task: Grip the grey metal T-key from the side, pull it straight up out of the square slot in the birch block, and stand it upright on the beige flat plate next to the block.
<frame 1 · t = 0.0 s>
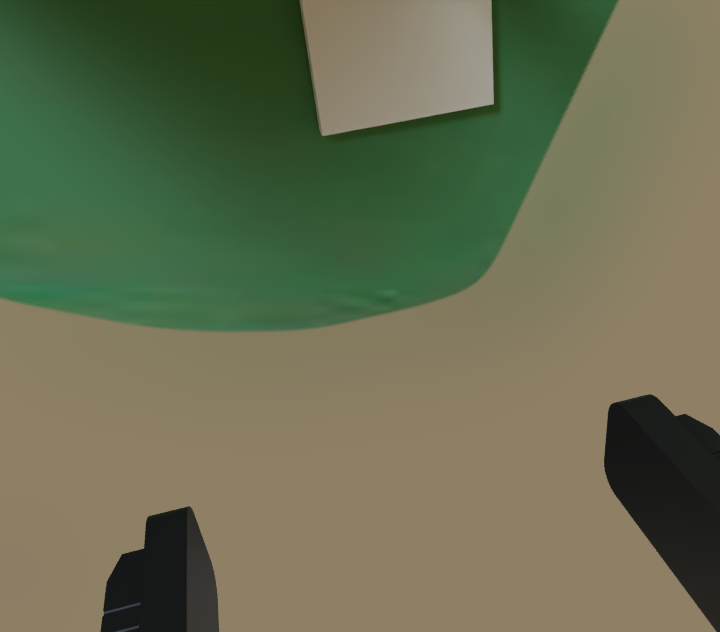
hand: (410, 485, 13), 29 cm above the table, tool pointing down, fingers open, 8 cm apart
beige flat plate: (399, 51, 38), on the table
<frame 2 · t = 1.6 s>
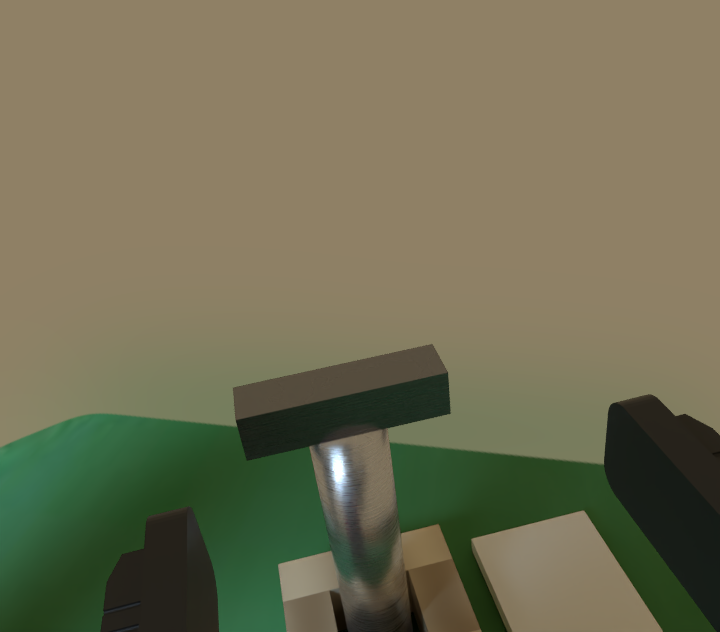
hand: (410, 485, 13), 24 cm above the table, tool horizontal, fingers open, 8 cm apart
t key: (365, 539, 31), in the slot block
beige flat plate: (566, 607, 37), on the table
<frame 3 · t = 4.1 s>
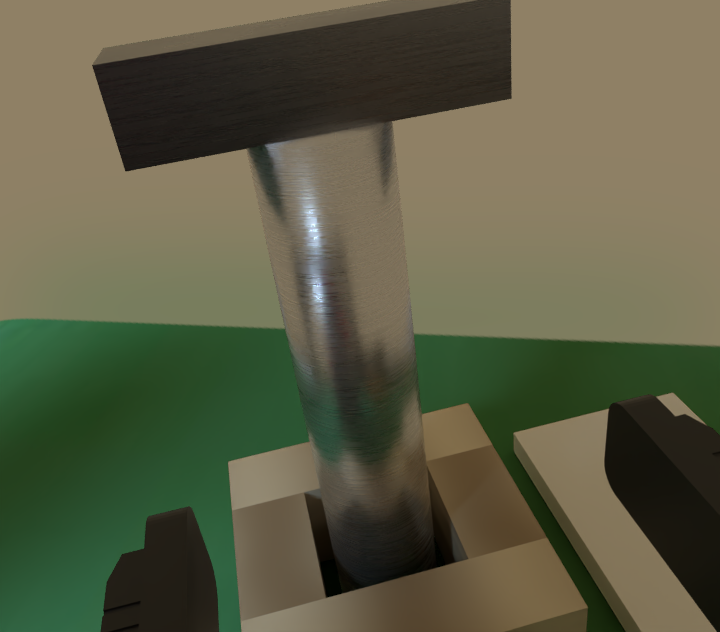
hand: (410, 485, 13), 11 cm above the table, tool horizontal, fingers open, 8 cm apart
slot block: (391, 595, 23), on the table
t key: (358, 381, 18), in the slot block
beige flat plate: (664, 519, 24), on the table
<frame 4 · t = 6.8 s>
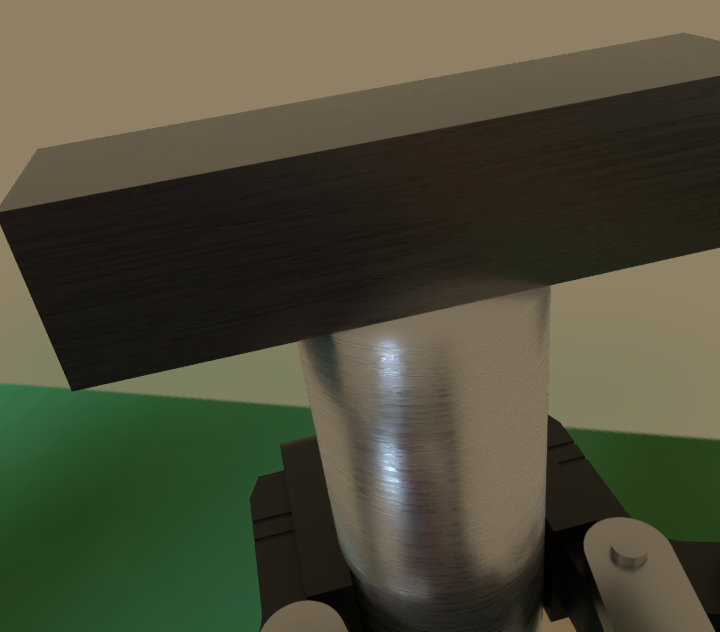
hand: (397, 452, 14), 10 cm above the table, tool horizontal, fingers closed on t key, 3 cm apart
t key: (448, 621, 12), in the slot block, touching gripper
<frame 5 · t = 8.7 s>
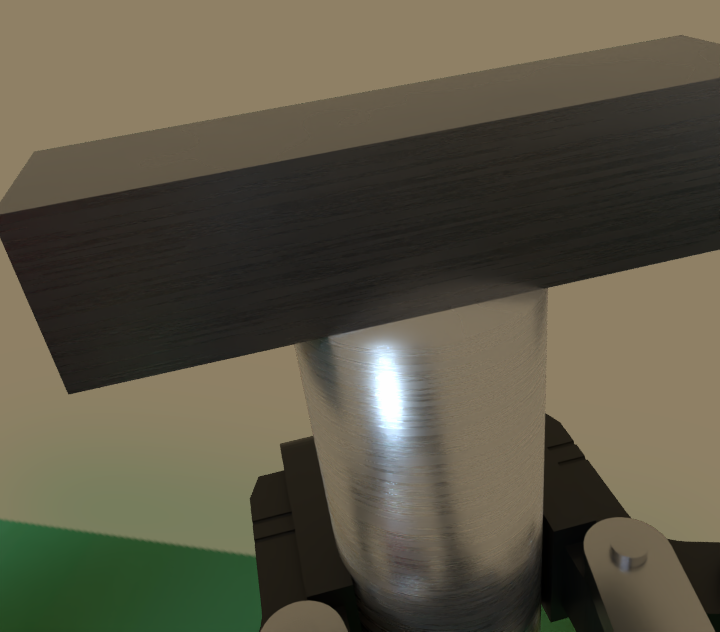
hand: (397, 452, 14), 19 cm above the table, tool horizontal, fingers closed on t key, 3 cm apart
t key: (446, 623, 12), point 17 cm above the table, touching gripper
when the fingers open (12 cm above the table, at t = 10.9 s): t key stays where it is, resting on beige flat plate.
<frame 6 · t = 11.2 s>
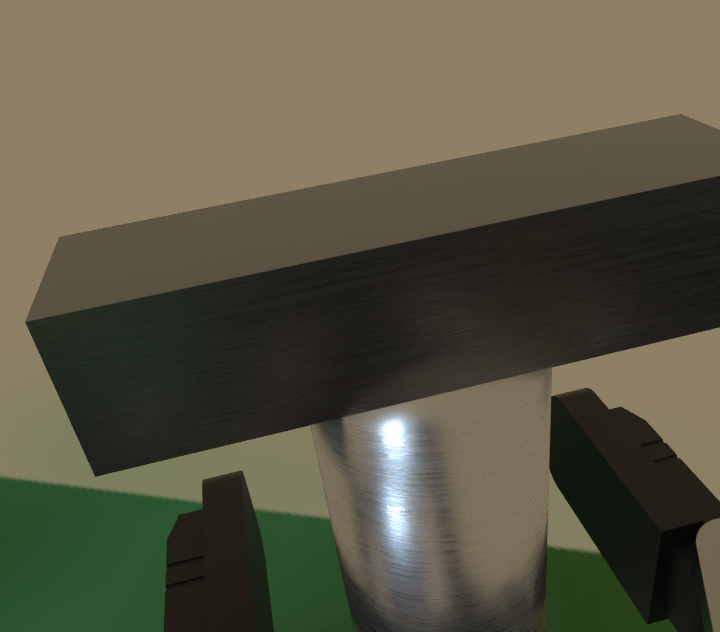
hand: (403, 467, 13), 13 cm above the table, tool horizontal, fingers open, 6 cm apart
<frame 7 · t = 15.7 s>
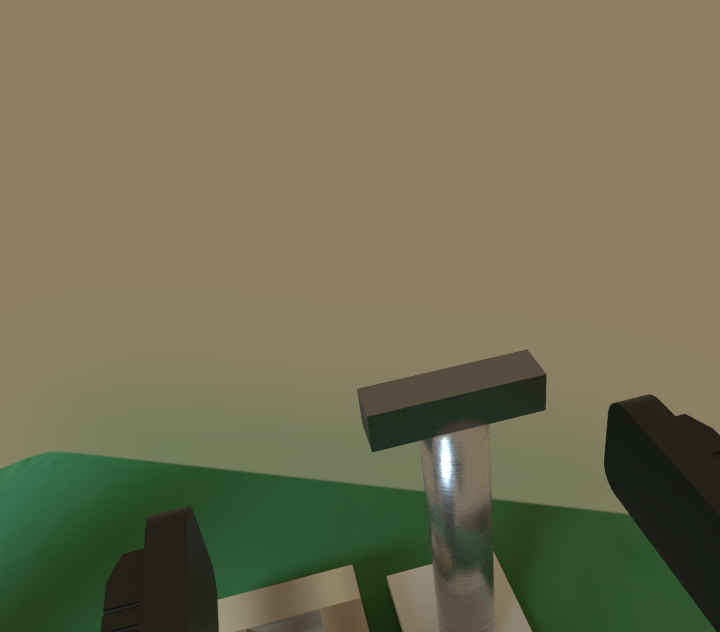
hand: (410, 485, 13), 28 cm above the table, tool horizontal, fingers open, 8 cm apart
t key: (460, 523, 35), on the beige flat plate, point 10 cm above the table
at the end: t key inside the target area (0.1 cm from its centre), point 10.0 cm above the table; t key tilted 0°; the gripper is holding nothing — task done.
